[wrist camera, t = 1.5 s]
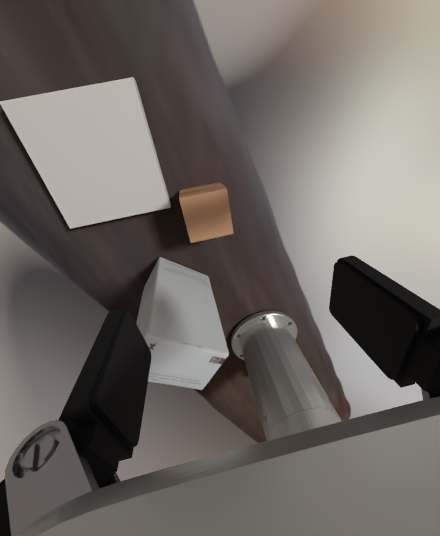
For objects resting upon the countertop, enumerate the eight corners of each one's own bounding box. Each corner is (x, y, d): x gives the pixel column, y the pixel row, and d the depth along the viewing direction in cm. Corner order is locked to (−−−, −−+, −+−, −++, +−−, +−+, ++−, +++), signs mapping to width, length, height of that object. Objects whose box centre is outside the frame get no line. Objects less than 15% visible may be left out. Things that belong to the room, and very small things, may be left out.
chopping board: (171, 205, 26) (170, 207, 25) (74, 225, 26) (69, 228, 25) (135, 80, 20) (132, 77, 19) (8, 104, 20) (-1, 101, 19)
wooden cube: (226, 220, 29) (233, 233, 24) (189, 228, 28) (190, 242, 24) (219, 181, 26) (226, 188, 22) (179, 190, 26) (178, 198, 22)
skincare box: (144, 286, 31) (116, 380, 19) (160, 253, 29) (141, 333, 16) (194, 304, 34) (200, 395, 22) (212, 275, 32) (231, 358, 19)
